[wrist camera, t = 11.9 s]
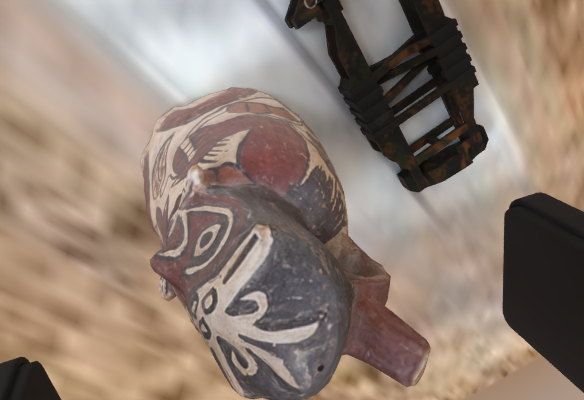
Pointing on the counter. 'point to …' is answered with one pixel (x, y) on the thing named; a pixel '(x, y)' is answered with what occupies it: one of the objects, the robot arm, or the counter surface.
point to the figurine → (267, 249)
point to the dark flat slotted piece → (374, 106)
